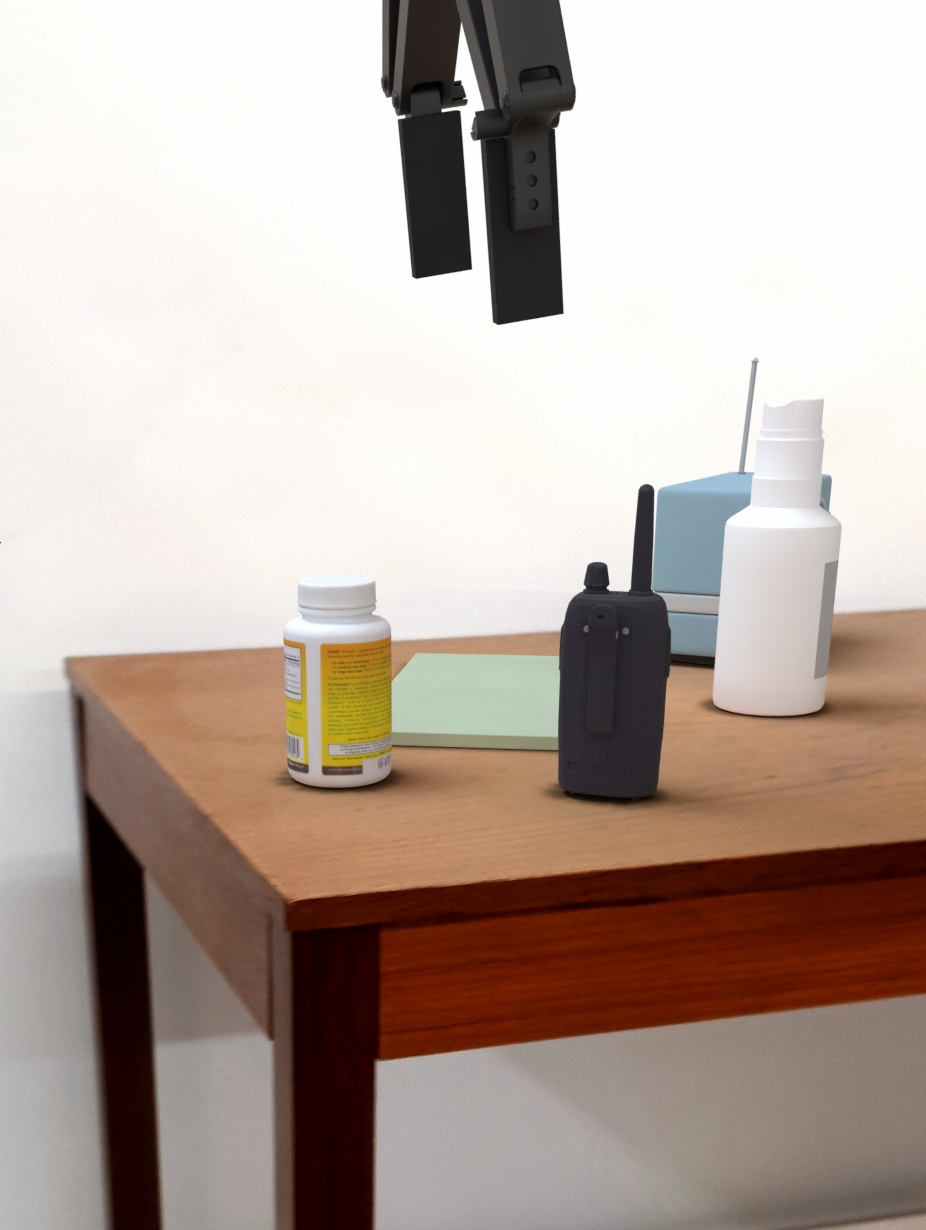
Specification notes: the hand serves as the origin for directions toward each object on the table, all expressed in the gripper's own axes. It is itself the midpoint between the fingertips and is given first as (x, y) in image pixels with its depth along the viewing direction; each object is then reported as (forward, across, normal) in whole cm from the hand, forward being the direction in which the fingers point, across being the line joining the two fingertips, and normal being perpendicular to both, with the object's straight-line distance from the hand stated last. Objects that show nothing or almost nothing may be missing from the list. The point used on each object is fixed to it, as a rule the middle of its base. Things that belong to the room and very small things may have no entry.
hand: (481, 295), depth 72 cm
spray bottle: (+30, -17, +21) cm, 40 cm away
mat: (+28, -22, +6) cm, 36 cm away
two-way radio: (+24, +1, +4) cm, 25 cm away
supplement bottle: (+24, -6, -8) cm, 26 cm away
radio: (+34, -36, +27) cm, 56 cm away
